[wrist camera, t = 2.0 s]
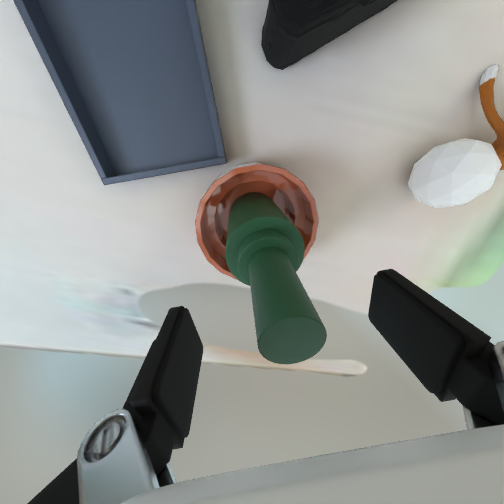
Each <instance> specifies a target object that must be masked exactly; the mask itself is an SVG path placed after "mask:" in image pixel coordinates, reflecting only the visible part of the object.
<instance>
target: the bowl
mask: <svg viewBox="0 0 504 504" xmlns="http://www.w3.org/2000/svg"><path fill="white" fill-rule="evenodd" d="M249 192H259V193H263V194H265V195H267V196H268V197H270V198H271V199H272V200H273V202H274V203H275V204H276V205H277V206H278V207H279V208H280V210H281V211H282V212H283V213H284V214H285V215H286V217H287V218H288V219H289V220H290V221H291V222H292V224H293V225H294V226H295V227H296V228H297V229H298V231H299V232H300V234H301V236H302V238H303V241H304V247H305V252H304V258H305V257H306V255H307V254H308V252H309V250H310V248H311V246H312V245H313V243H314V241H315V237H316V232H317V226H318V215H317V210H316V205H315V200H314V198H313V197H312V195H311V194H310V192H309V191H308V189H307V187H306V186H305V184H304V183H303V182H302V181H301V180H300V179H298V178H297V177H295V176H294V175H292V174H291V173H289V172H288V171H287V170H285V169H283V168H279V167H275V166H271V165H266V164H261V163H257V162H253V163H247V164H242V165H236V166H234V167H233V168H231V169H229V170H228V171H226V172H224V173H223V174H221V175H220V176H219V177H218V178H217V179H216V180H215V181H214V183H213V184H212V185H211V187H210V188H209V190H208V191H207V192H206V194H205V195H204V196H203V198H202V199H201V201H200V205H199V208H198V212H197V216H196V220H195V225H196V233H197V242H198V244H199V246H200V248H201V250H202V251H203V253H204V255H205V257H206V259H207V260H208V261H209V262H210V263H211V264H212V265H213V266H214V267H215V268H217V269H218V270H219V271H220V272H221V273H223V274H226V275H228V276H230V277H232V278H235V277H234V275H233V274H232V273H231V272H230V270H229V268H228V266H227V263H226V258H225V251H226V240H227V230H228V220H229V212H230V208H231V206H232V204H233V203H234V201H235V200H236V199H237V198H238V197H240V196H241V195H243V194H246V193H249ZM304 258H303V259H304ZM235 279H237V278H235ZM237 280H238V279H237Z"/></svg>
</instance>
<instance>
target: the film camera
mask: <svg viewBox="0 0 504 504" xmlns="http://www.w3.org/2000/svg"><path fill="white" fill-rule="evenodd" d="M395 1H397V0H269V4H268V9H267V14H266V19H265V23H264V25H263V29H262V44H261V45H262V48H263V51H264V54H265V56H266V59H267V61H268V62H269V63H270V64H271V65H272V66H273V67H275V68H278V69H284V68H286V67H288V66H290V65H292V64H294V63H296V62H297V61H299V60H300V59H302V58H303V57H305V56H307V55H308V54H310V53H312V52H314V51H316V50H317V49H318V48H320V47H322V46H324V45H325V44H327V43H329V42H330V41H332V40H333V39H335V38H337V37H338V36H340V35H342V34H344V33H345V32H347V31H349V30H350V29H352V28H353V27H355V26H356V25H358V24H360V23H361V22H363V21H365V20H366V19H368V18H370V17H372V16H373V15H375V14H377V13H379V12H380V11H382V10H384V9H385V8H387V7H388V6H389V5H391V4H392V3H394V2H395Z"/></svg>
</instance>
